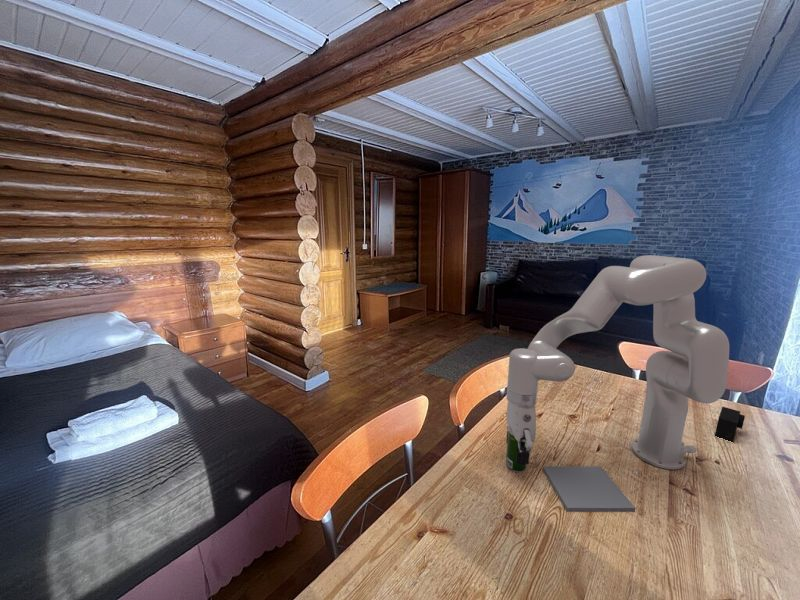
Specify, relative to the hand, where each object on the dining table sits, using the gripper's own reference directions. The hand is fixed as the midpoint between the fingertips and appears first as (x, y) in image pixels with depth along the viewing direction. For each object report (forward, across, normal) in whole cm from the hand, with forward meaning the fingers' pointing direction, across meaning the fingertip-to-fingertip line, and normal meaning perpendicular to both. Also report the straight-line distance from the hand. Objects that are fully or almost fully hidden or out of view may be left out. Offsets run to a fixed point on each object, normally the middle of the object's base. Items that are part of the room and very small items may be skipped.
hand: (516, 452), depth 92 cm
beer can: (+5, 0, 0) cm, 5 cm away
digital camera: (+5, +15, -74) cm, 75 cm away
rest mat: (+4, -8, -15) cm, 18 cm away
